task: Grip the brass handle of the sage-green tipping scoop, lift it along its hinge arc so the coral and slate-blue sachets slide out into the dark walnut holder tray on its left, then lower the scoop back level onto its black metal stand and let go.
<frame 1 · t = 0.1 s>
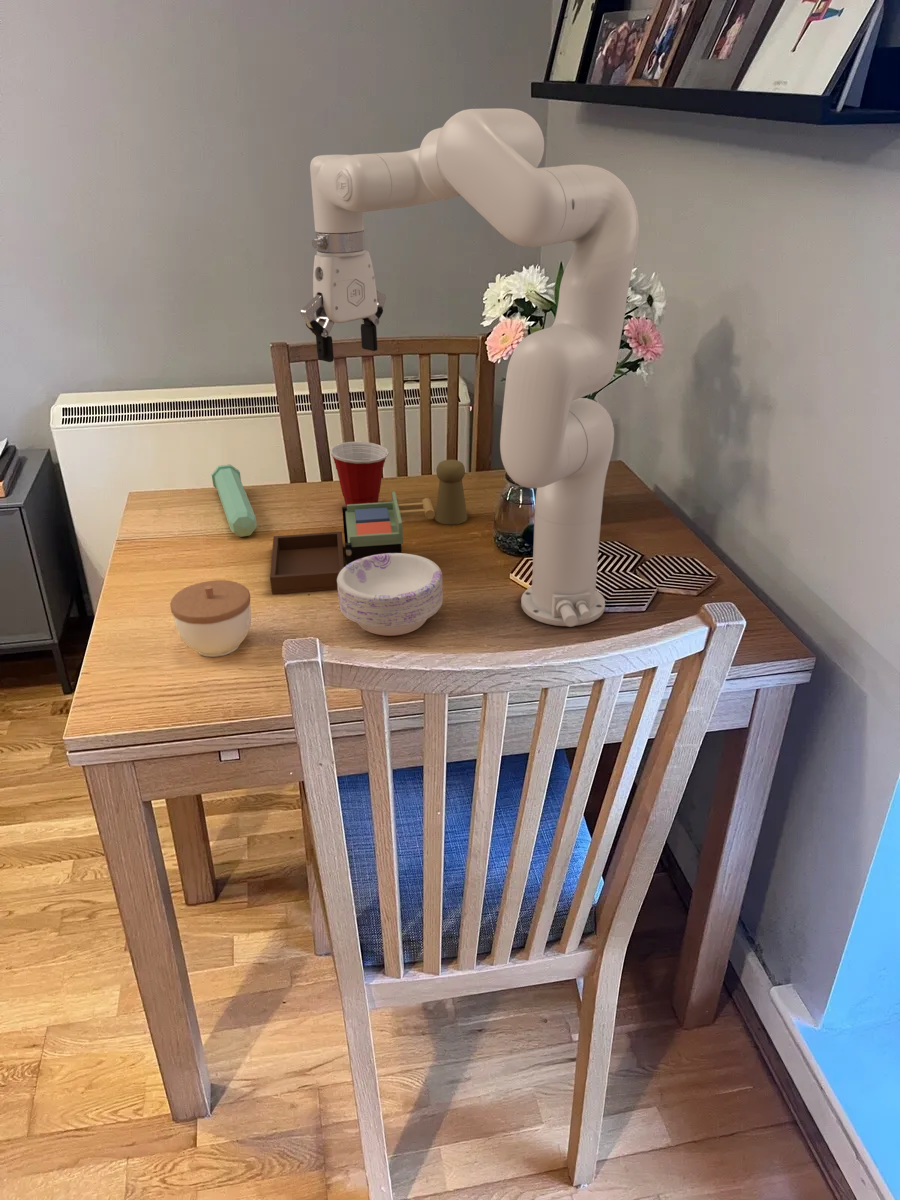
hand: (348, 355, 144), 31 cm above the table, tool pointing down, fingers open, 9 cm apart
pepper mill: (451, 518, 162), on the table
scoop: (389, 516, 142), point 8 cm above the table, hinge at -0.1°, touching blue sachet, coral sachet
trinket box: (218, 646, 124), on the table
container: (236, 514, 165), on the table
coral sachet: (374, 532, 139), point 7 cm above the table, touching scoop
stand: (349, 566, 145), on the table
paper bowls: (392, 621, 129), on the table
blue sachet: (372, 518, 145), point 7 cm above the table, touching scoop
holder: (309, 569, 144), on the table
plastic cup: (363, 510, 166), on the table
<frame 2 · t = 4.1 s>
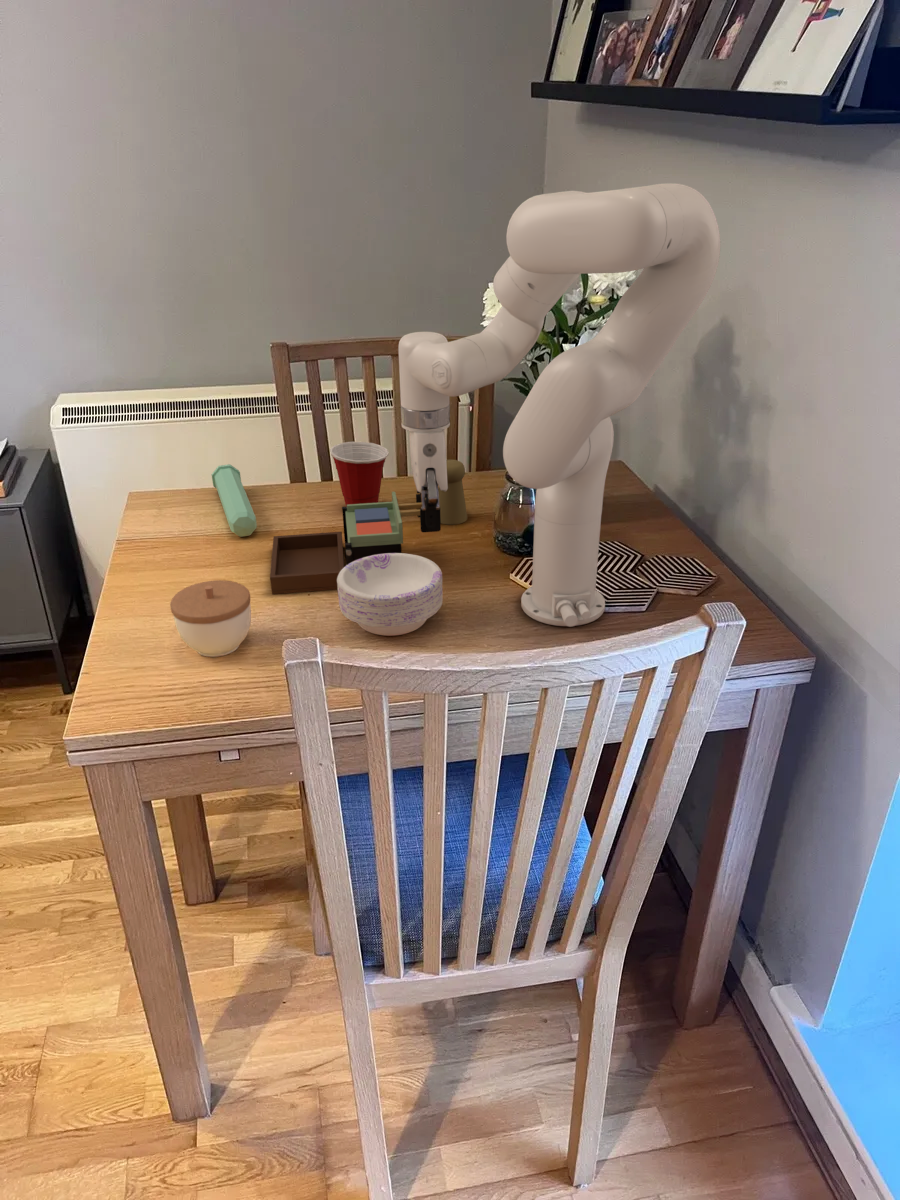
hand: (428, 522, 143), 7 cm above the table, tool pointing down, fingers closed on scoop, 5 cm apart
scoop: (389, 516, 142), point 8 cm above the table, hinge at -0.1°, touching blue sachet, coral sachet, gripper
everything else where it was.
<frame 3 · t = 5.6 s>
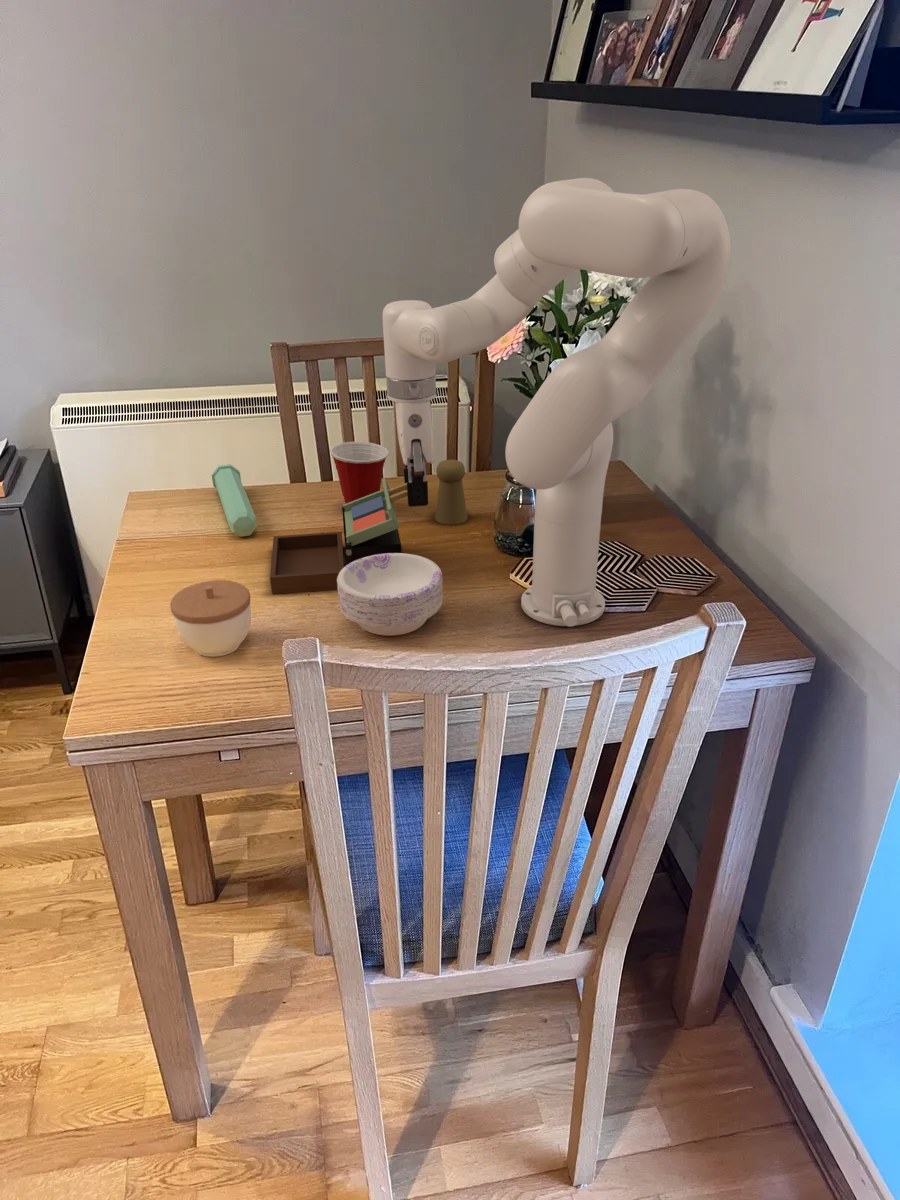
hand: (416, 497, 141), 12 cm above the table, tool pointing down, fingers closed on scoop, 5 cm apart
scoop: (383, 505, 141), point 11 cm above the table, hinge at 18.5°, touching blue sachet, coral sachet, gripper
coral sachet: (371, 525, 139), point 9 cm above the table, tilted 18°, touching scoop
blue sachet: (369, 510, 144), point 9 cm above the table, tilted 18°, touching scoop
everything else where it was.
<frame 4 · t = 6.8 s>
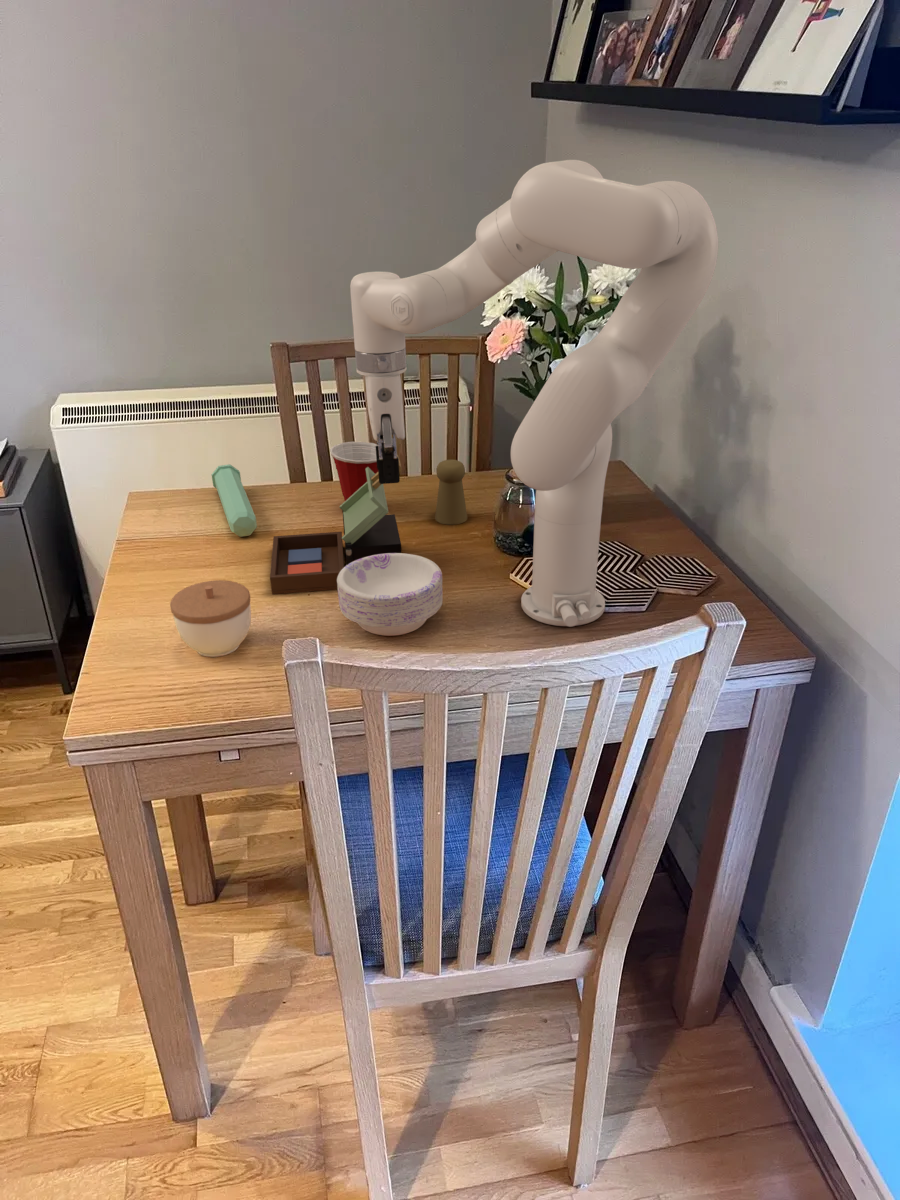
hand: (388, 474, 138), 16 cm above the table, tool pointing down, fingers closed on scoop, 5 cm apart
scoop: (370, 494, 139), point 13 cm above the table, hinge at 40.0°, touching gripper
coral sachet: (304, 570, 141), point 1 cm above the table, tilted 180°, touching holder
blue sachet: (304, 554, 146), point 1 cm above the table, tilted 180°, touching holder
everything else where it was.
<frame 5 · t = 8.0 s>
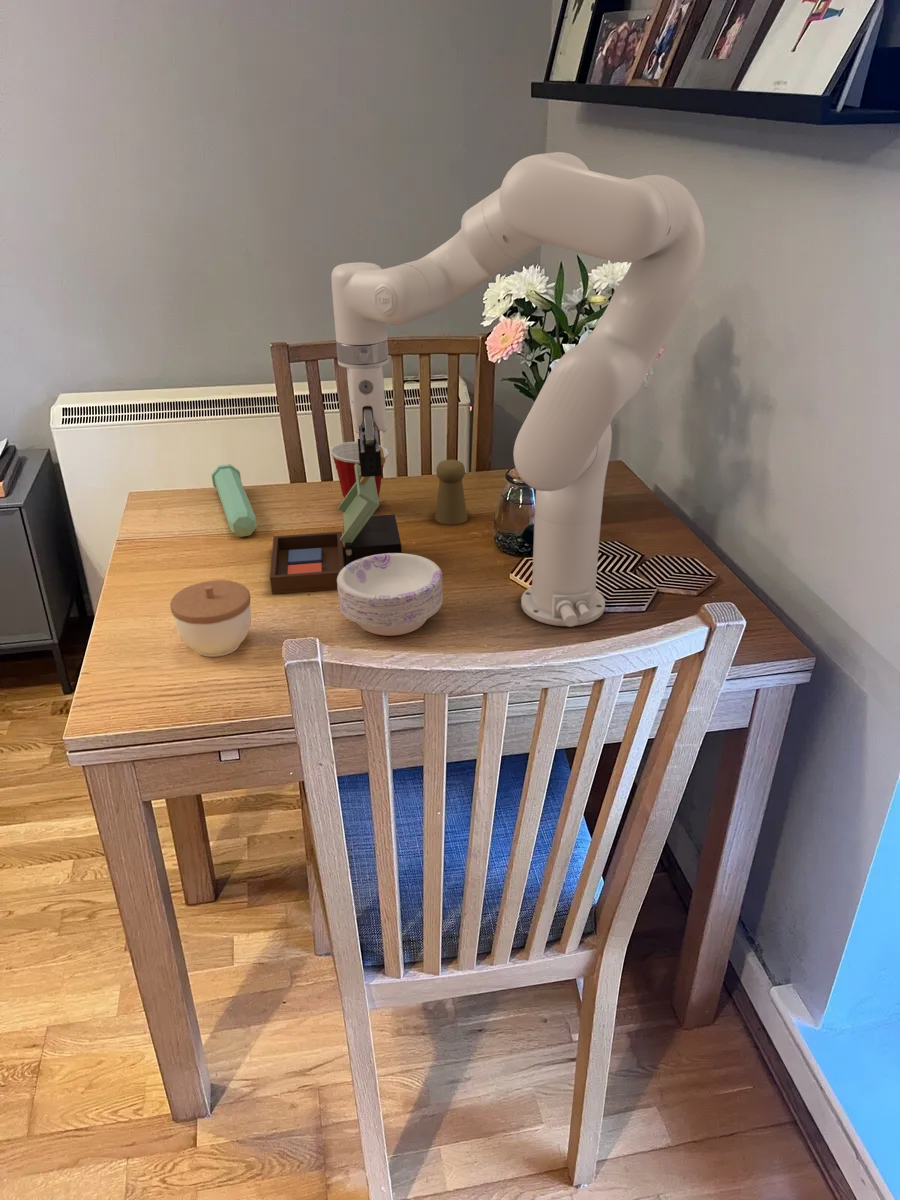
hand: (370, 467, 137), 17 cm above the table, tool pointing down, fingers closed on scoop, 5 cm apart
scoop: (361, 490, 139), point 13 cm above the table, hinge at 52.5°, touching gripper
everything else where it was.
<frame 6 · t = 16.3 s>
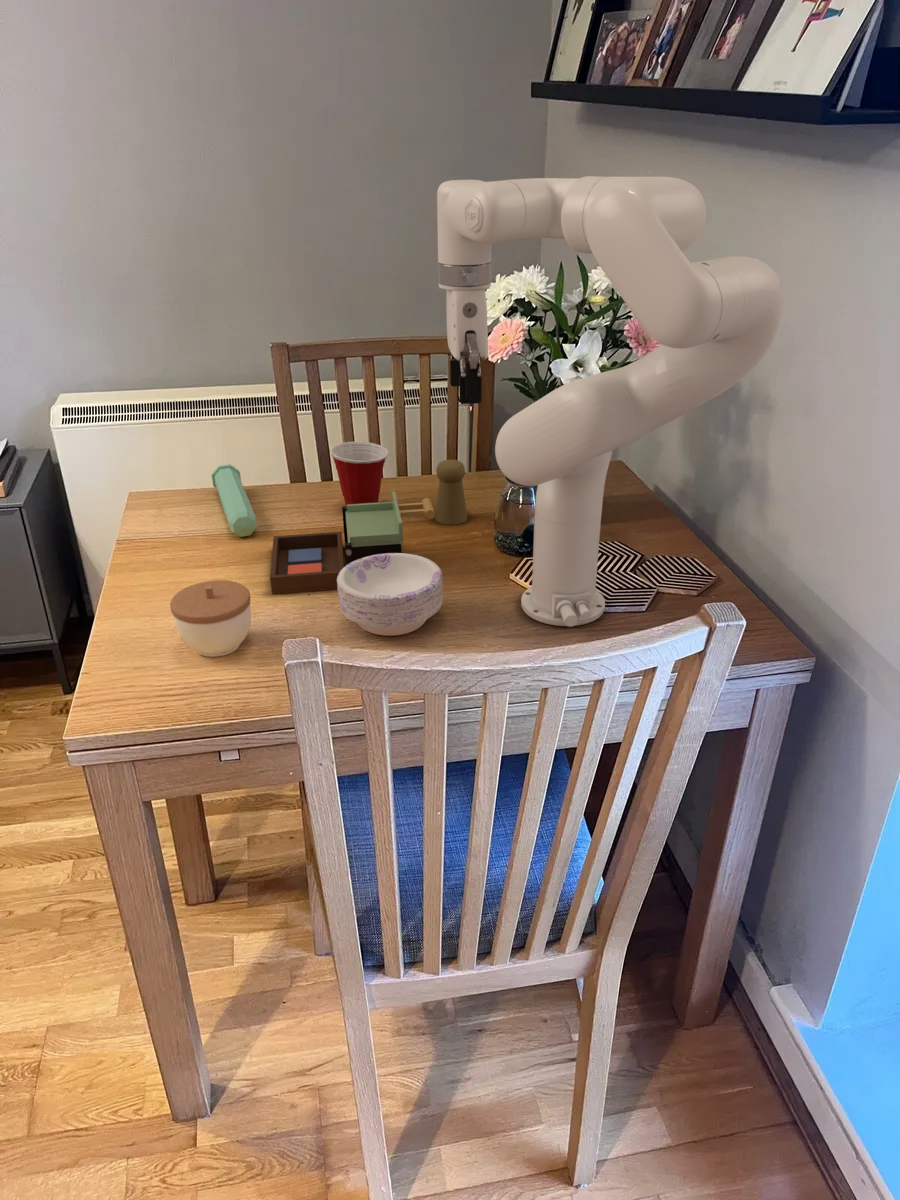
hand: (465, 394, 133), 28 cm above the table, tool pointing down, fingers open, 9 cm apart
scoop: (389, 516, 142), point 8 cm above the table, hinge at -0.1°
everything else where it was.
at the end: coral sachet inside the target area in the holder (3.0 cm from its centre), point 1.4 cm above the holder's base; blue sachet inside the target area in the holder (3.0 cm from its centre), point 1.4 cm above the holder's base; scoop at +0° (first picture: +0°) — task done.
